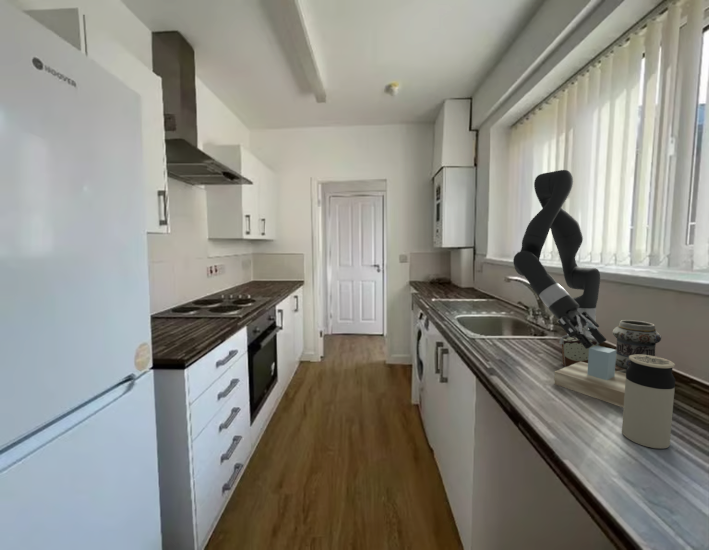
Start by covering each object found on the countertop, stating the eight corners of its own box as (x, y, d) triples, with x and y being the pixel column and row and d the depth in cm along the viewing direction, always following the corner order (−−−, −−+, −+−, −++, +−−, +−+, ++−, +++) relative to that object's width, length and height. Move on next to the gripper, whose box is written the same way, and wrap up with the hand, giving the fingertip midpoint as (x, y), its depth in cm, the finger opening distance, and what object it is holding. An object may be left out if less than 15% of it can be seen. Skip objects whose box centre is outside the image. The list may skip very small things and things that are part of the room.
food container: (587, 361, 121) (589, 334, 120) (597, 368, 115) (599, 339, 114) (551, 360, 123) (553, 334, 122) (560, 367, 117) (561, 339, 116)
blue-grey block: (595, 371, 102) (596, 345, 102) (614, 376, 98) (616, 349, 97) (587, 374, 100) (588, 348, 99) (607, 380, 95) (608, 353, 95)
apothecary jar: (650, 373, 110) (654, 320, 108) (665, 388, 99) (670, 328, 97) (605, 368, 115) (608, 316, 113) (615, 381, 104) (618, 324, 102)
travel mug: (674, 454, 68) (681, 369, 67) (624, 442, 73) (630, 362, 71) (664, 435, 75) (671, 357, 73) (619, 425, 79) (624, 351, 78)
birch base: (579, 373, 111) (580, 361, 111) (648, 393, 96) (650, 379, 96) (554, 384, 103) (554, 371, 102) (625, 408, 87) (626, 393, 87)
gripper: (555, 296, 102) (596, 342, 93) (578, 291, 109) (618, 334, 101) (537, 310, 107) (574, 355, 98) (560, 305, 114) (597, 346, 106)
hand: (596, 344), depth 99 cm, fingers open, 8 cm apart
